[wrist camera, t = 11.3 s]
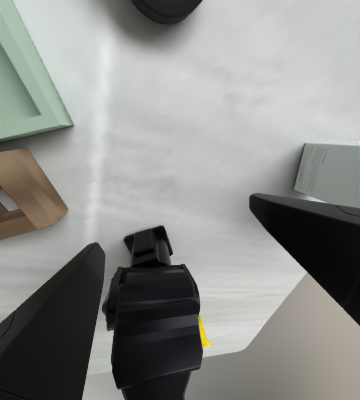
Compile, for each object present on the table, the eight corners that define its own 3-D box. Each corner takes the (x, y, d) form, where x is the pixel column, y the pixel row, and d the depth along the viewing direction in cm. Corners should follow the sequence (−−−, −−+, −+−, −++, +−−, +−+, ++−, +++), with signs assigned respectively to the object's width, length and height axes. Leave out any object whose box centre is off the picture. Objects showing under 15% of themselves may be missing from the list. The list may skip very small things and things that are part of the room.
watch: (204, 321, 41) (213, 350, 36) (194, 325, 40) (202, 354, 35) (201, 311, 38) (211, 342, 32) (191, 315, 37) (199, 347, 32)
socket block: (68, 209, 20) (54, 224, 17) (4, 227, 19) (-23, 246, 16) (26, 147, 16) (-1, 152, 13) (-55, 166, 15) (-106, 176, 12)
